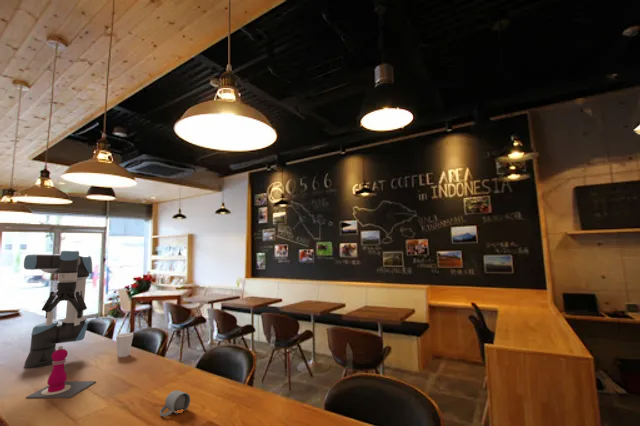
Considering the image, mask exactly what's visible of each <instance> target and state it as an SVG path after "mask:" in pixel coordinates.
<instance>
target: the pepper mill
mask: <svg viewBox="0 0 640 426" xmlns="http://www.w3.org/2000/svg"><path fill="white" fill-rule="evenodd" d="M68 355H69V354H68V350H67V349H64V347H63V346H62V345H61V346H58V348H57V349H56V351H55V352H53V354H52V359H53V360H54V361H52V362H53V363H52V364H51V365H53V366H52V367H53V368H52V371H51V373H50V374H49V376H48V379H47V386H49V387H48V392H57V391H60V390H62V389H64V388H65V384H64V382H65V381H67V380H68V376H67V372H66V370H65V363H66V360H67V359H66V358H67V357H68Z"/></svg>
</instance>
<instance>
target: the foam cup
mask: <svg viewBox="0 0 640 426" xmlns="http://www.w3.org/2000/svg"><path fill="white" fill-rule="evenodd" d="M115 337H116V338H115V339H116V351H117V357H118V358H126V357H128V356H130V353H131V348H132V343H133V338H134V333H133V332H124V333H118V334H117V335H116V336H115Z"/></svg>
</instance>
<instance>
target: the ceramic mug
mask: <svg viewBox="0 0 640 426" xmlns="http://www.w3.org/2000/svg"><path fill="white" fill-rule="evenodd" d="M164 403H165V405H164V406H163V407H162V408H161V409H160V411H159V415H160V417H161V416H167V417H169V416H170V415H172V414H173V413H174V414H175V415H179V414H178V413H177V412H175V411H177V410H181V409H183V410H186V411H187V410H188V408H189V407H190V405H191V395H190V394H189V393H187V392H184V391H181V390H172V391H171V392H170V393H168V394H167V396H166V398H165V401H164ZM166 409H168V410H167V412H165V410H166ZM162 412H163V413H162ZM168 415H169V416H168Z"/></svg>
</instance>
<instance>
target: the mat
mask: <svg viewBox="0 0 640 426" xmlns="http://www.w3.org/2000/svg"><path fill="white" fill-rule="evenodd" d="M96 383H97V381H96V380H95V381H91V380H85V381H84V380H81V381H78V380H76V381H70V380H68V381H67V380H66V381H65V382H64V384H65V388H64V389H62V390H60V391H57V392H48V387H49V385H47V386H45V387H43V388H40V389H39V390H37V391H35V392H33V393H32V394H31V393H30V394H29V395H27V396H25V399H71V398H72V397H75V396H76V395H77V394H79V393H81V392H83V391H84V390H86V389H87V388H90V386H92V385H94V384H96ZM70 397H71V398H70Z"/></svg>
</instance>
